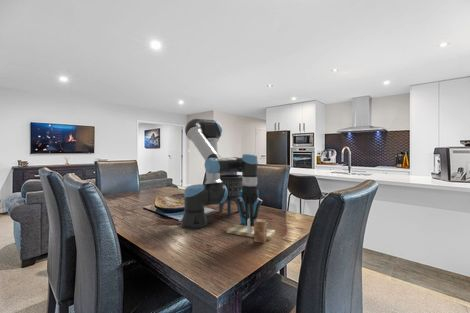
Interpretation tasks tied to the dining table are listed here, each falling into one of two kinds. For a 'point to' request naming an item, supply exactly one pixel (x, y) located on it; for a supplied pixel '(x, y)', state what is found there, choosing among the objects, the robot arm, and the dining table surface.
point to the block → (249, 208)
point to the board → (243, 231)
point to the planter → (231, 190)
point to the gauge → (260, 230)
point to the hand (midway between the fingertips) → (249, 232)
